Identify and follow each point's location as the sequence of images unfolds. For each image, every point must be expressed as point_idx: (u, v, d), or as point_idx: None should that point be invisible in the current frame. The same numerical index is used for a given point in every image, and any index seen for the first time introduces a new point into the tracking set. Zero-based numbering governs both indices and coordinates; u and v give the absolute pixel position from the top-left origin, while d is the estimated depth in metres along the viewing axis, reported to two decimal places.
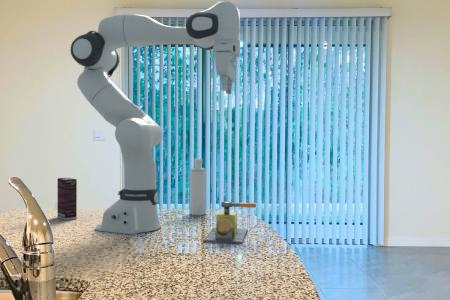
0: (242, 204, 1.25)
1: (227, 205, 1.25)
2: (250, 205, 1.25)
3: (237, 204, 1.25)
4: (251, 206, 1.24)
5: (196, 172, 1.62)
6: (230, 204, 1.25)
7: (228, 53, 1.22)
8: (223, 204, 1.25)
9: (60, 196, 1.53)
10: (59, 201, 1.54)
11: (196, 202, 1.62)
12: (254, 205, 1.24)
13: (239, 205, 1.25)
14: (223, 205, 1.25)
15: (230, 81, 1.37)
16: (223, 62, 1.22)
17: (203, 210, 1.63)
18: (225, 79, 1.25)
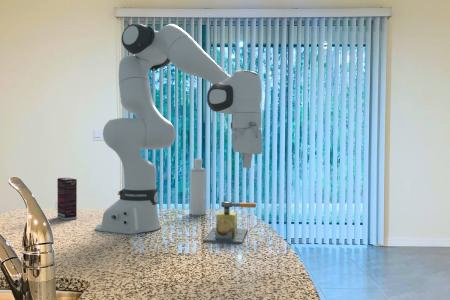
0: (242, 204, 1.25)
1: (227, 205, 1.25)
2: (250, 205, 1.25)
3: (237, 204, 1.25)
4: (251, 206, 1.24)
5: (196, 172, 1.62)
6: (230, 204, 1.25)
7: None
8: (223, 204, 1.25)
9: (60, 196, 1.53)
10: (58, 201, 1.54)
11: (196, 202, 1.62)
12: (254, 205, 1.24)
13: (239, 205, 1.25)
14: (223, 205, 1.25)
15: None
16: None
17: (203, 210, 1.63)
18: None
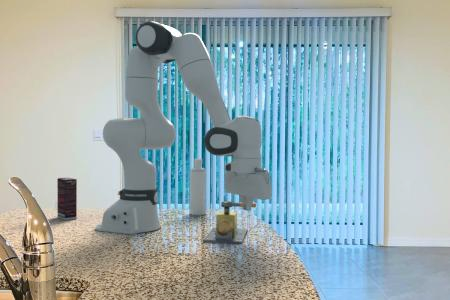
0: (242, 204, 1.25)
1: (227, 205, 1.25)
2: (251, 205, 1.25)
3: (237, 204, 1.25)
4: (251, 206, 1.25)
5: (196, 172, 1.62)
6: (230, 204, 1.25)
7: None
8: (223, 204, 1.25)
9: (60, 196, 1.53)
10: (58, 201, 1.54)
11: (196, 202, 1.62)
12: (254, 205, 1.25)
13: (239, 205, 1.25)
14: (223, 205, 1.25)
15: None
16: None
17: (203, 210, 1.63)
18: None
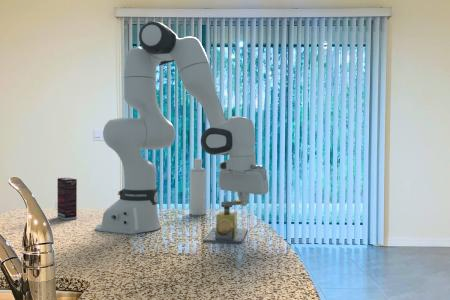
0: (239, 202, 1.30)
1: (231, 205, 1.26)
2: None
3: (236, 202, 1.29)
4: None
5: (196, 172, 1.62)
6: (232, 203, 1.27)
7: None
8: (228, 204, 1.25)
9: (60, 196, 1.53)
10: (59, 201, 1.54)
11: (196, 202, 1.62)
12: (247, 201, 1.33)
13: (237, 203, 1.29)
14: (228, 205, 1.25)
15: None
16: None
17: (203, 210, 1.63)
18: None
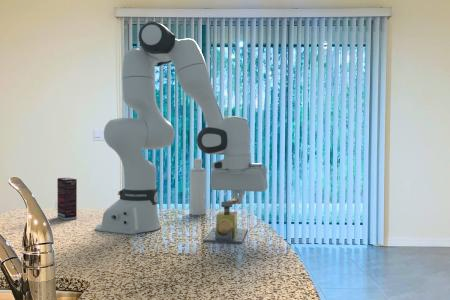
0: (235, 201, 1.31)
1: (232, 204, 1.27)
2: None
3: (233, 202, 1.30)
4: None
5: (196, 172, 1.62)
6: None
7: None
8: (230, 204, 1.25)
9: (60, 196, 1.53)
10: (58, 201, 1.54)
11: (196, 202, 1.62)
12: None
13: (234, 202, 1.30)
14: (230, 205, 1.25)
15: None
16: None
17: (203, 210, 1.63)
18: None
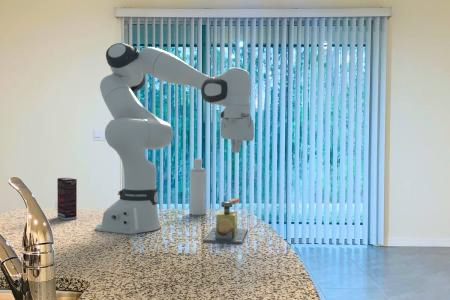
0: (235, 201, 1.31)
1: (232, 204, 1.27)
2: (238, 200, 1.34)
3: (233, 202, 1.30)
4: (238, 201, 1.34)
5: (196, 172, 1.62)
6: None
7: None
8: (230, 204, 1.25)
9: (60, 196, 1.53)
10: (58, 201, 1.54)
11: (196, 202, 1.62)
12: None
13: (234, 202, 1.30)
14: (230, 205, 1.25)
15: None
16: None
17: (203, 210, 1.63)
18: None
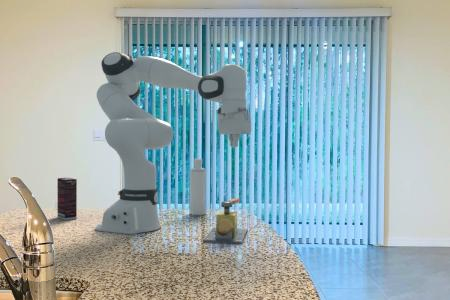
0: (235, 201, 1.31)
1: (232, 204, 1.27)
2: (238, 200, 1.34)
3: (233, 202, 1.30)
4: (238, 201, 1.34)
5: (196, 172, 1.62)
6: None
7: None
8: (230, 204, 1.25)
9: (60, 196, 1.53)
10: (59, 201, 1.54)
11: (196, 202, 1.62)
12: None
13: (234, 202, 1.30)
14: (230, 205, 1.25)
15: None
16: None
17: (203, 210, 1.63)
18: None
